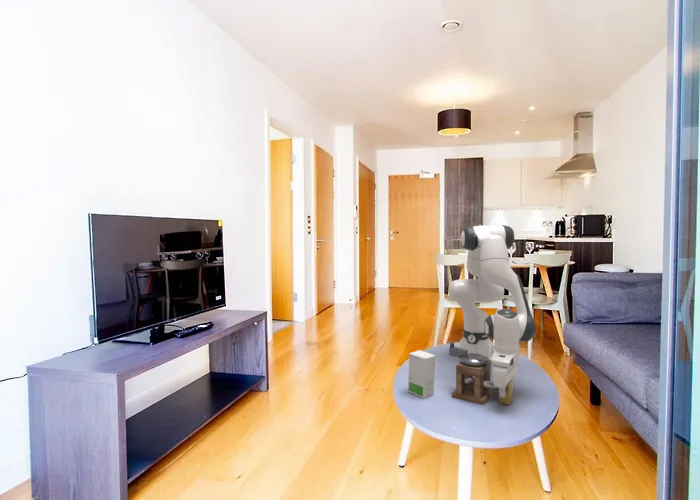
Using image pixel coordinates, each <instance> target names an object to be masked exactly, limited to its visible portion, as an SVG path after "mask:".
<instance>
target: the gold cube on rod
mask: <svg viewBox="0 0 700 500" xmlns="http://www.w3.org/2000/svg"><path fill="white" fill-rule="evenodd" d="M474 382H475V377H473V378H472V377H467V376H465V384H469V385H473V386H474ZM513 382H514V378H513V379H512V380H511V381H510V382H509V383H508V385H507V386H506V388H505V391H506V396H505V397H501V396H500V391H499V388H496V387H494V384H493V381H491V380H490V381H486V380H483V388H487V389H491V390H495V391H497V392H498V395H499V396H498V402H499V403H500V404H505V405H508V406H509V405H510V404H511V403H512V402H513V393H514V392H513V388H514V386H513V384H514V383H513Z"/></svg>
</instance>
